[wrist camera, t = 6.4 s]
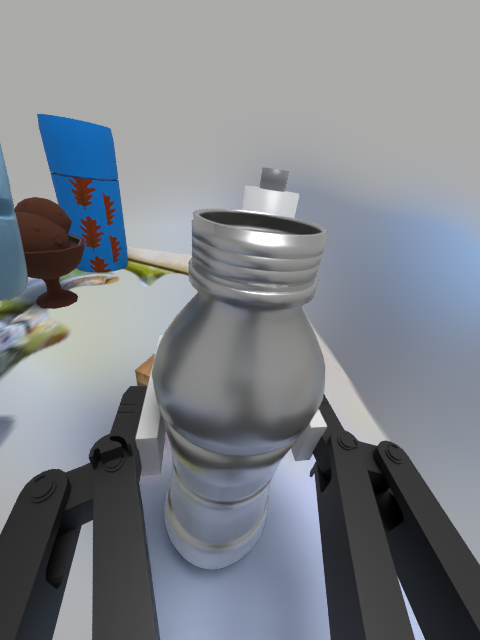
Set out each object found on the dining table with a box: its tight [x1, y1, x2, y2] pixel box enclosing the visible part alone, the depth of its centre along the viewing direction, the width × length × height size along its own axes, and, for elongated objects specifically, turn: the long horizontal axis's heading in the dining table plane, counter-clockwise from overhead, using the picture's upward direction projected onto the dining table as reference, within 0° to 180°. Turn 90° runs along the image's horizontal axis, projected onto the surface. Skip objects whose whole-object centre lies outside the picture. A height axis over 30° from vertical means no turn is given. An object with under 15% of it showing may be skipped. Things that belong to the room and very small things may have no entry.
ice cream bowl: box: [14, 197, 85, 309], centre depth 34 cm, size 11×11×15 cm
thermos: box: [37, 114, 128, 272], centre depth 46 cm, size 11×11×25 cm
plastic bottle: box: [152, 209, 327, 569], centre depth 12 cm, size 6×7×20 cm
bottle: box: [242, 168, 299, 218], centre depth 31 cm, size 6×6×20 cm
